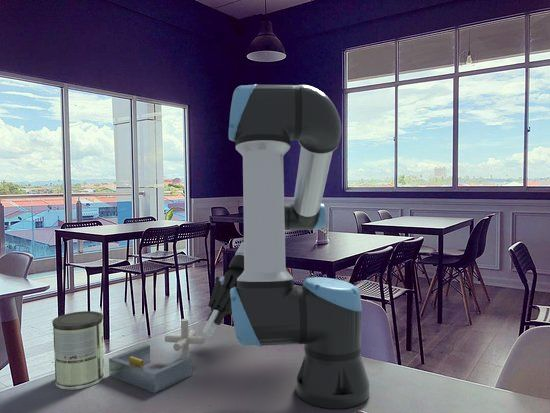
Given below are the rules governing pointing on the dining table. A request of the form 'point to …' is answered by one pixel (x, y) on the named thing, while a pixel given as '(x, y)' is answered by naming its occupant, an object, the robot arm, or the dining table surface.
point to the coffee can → (78, 349)
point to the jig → (147, 370)
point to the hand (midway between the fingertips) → (207, 334)
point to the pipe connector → (184, 339)
